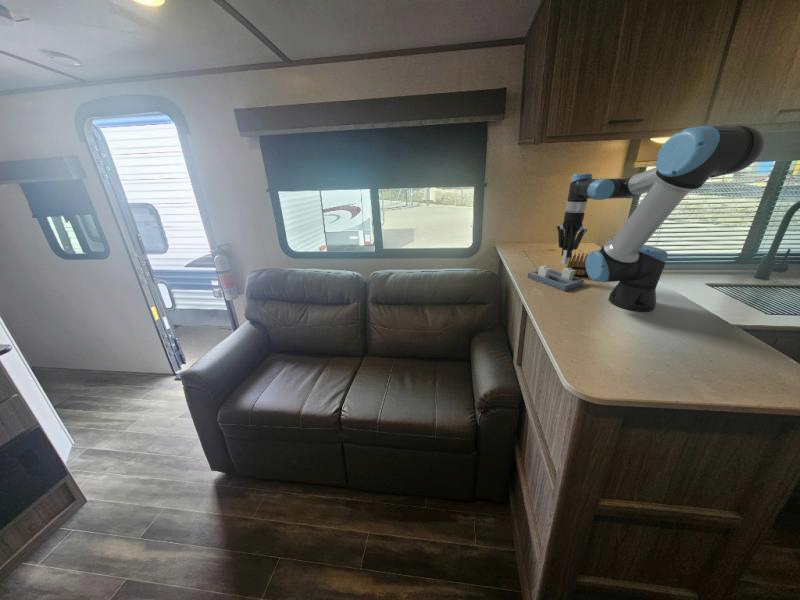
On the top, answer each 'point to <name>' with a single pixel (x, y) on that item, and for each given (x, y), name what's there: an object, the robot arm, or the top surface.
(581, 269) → the ammunition clip
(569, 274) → the tab
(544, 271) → the tab
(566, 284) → the switch bank
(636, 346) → the top surface
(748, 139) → the robot arm
